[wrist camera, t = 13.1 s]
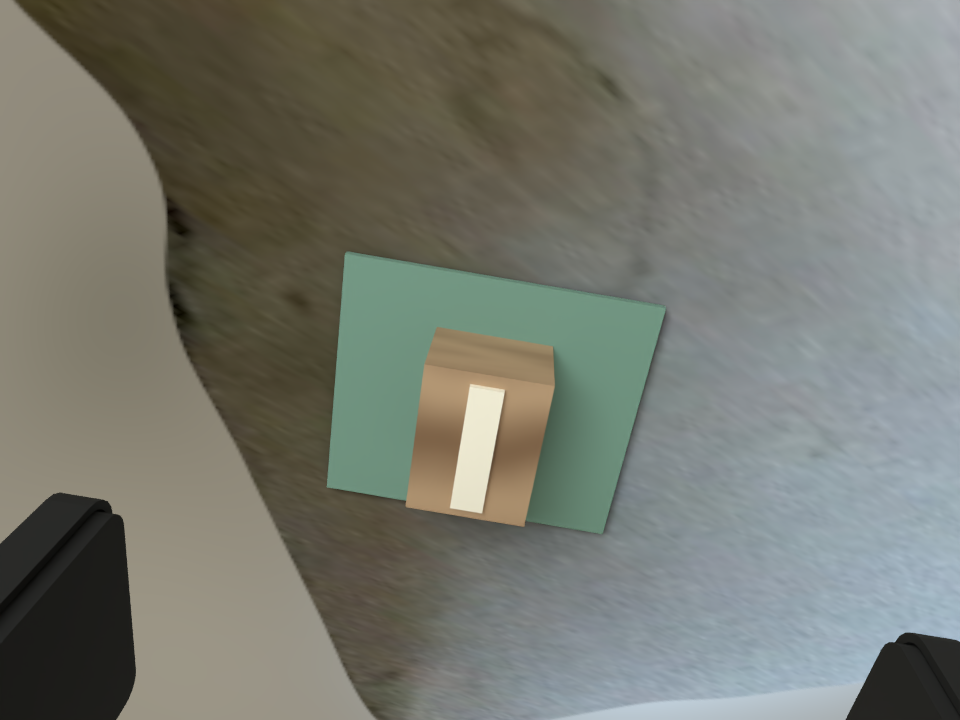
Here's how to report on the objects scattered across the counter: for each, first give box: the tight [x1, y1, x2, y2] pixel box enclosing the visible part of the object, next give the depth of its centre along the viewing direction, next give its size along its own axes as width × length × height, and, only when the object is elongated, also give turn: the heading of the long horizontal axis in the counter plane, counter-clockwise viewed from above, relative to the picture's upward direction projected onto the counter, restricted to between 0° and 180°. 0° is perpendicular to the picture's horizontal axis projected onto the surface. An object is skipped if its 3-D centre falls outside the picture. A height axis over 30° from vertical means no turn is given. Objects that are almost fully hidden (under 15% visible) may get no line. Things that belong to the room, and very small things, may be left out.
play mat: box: [327, 252, 666, 534], centre depth 39 cm, size 16×14×1 cm
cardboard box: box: [406, 327, 555, 527], centre depth 37 cm, size 8×6×5 cm
